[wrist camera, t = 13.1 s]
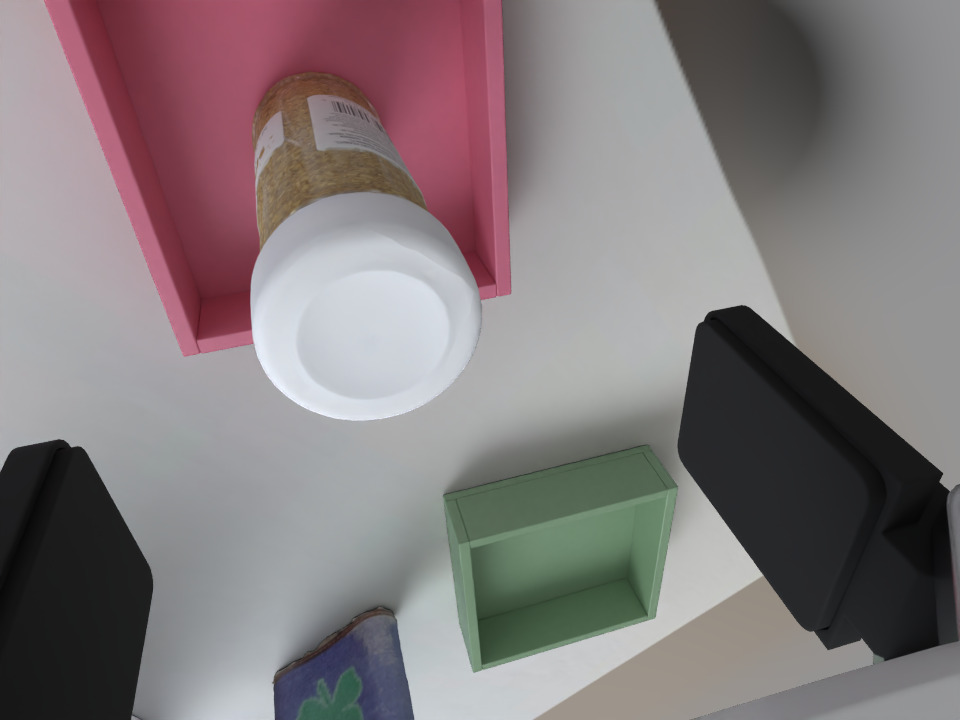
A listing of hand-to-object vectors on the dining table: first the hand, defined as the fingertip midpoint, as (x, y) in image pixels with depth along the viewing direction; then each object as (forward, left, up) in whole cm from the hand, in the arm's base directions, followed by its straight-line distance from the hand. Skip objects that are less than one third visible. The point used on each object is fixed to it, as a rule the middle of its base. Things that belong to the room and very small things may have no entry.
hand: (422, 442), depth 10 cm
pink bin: (0, 0, -17) cm, 17 cm away
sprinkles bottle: (0, 0, -17) cm, 17 cm away
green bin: (-9, +26, -17) cm, 32 cm away
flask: (+5, +31, -17) cm, 36 cm away
